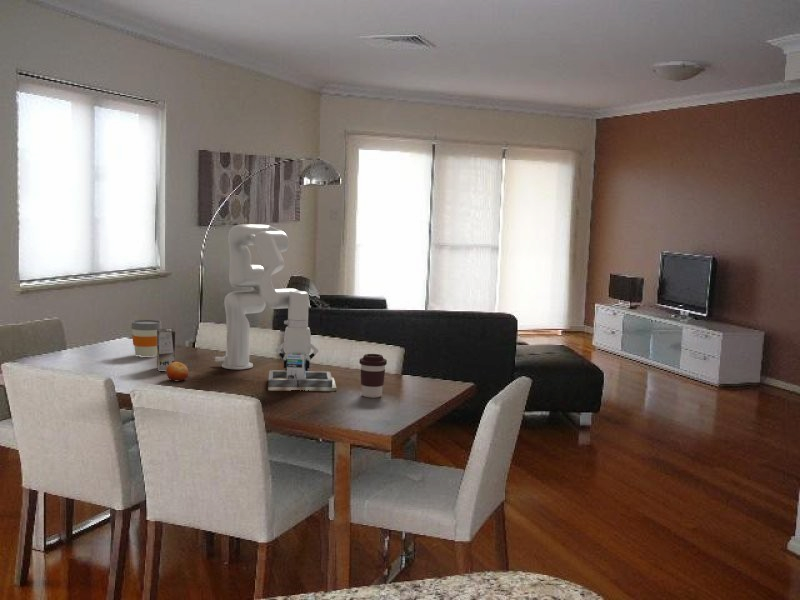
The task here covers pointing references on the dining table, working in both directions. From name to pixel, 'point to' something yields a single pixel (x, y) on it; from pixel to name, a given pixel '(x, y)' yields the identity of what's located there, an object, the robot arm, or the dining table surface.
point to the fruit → (177, 371)
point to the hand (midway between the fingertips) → (296, 369)
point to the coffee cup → (372, 375)
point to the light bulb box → (296, 366)
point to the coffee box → (165, 348)
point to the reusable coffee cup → (145, 336)
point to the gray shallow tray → (301, 381)
